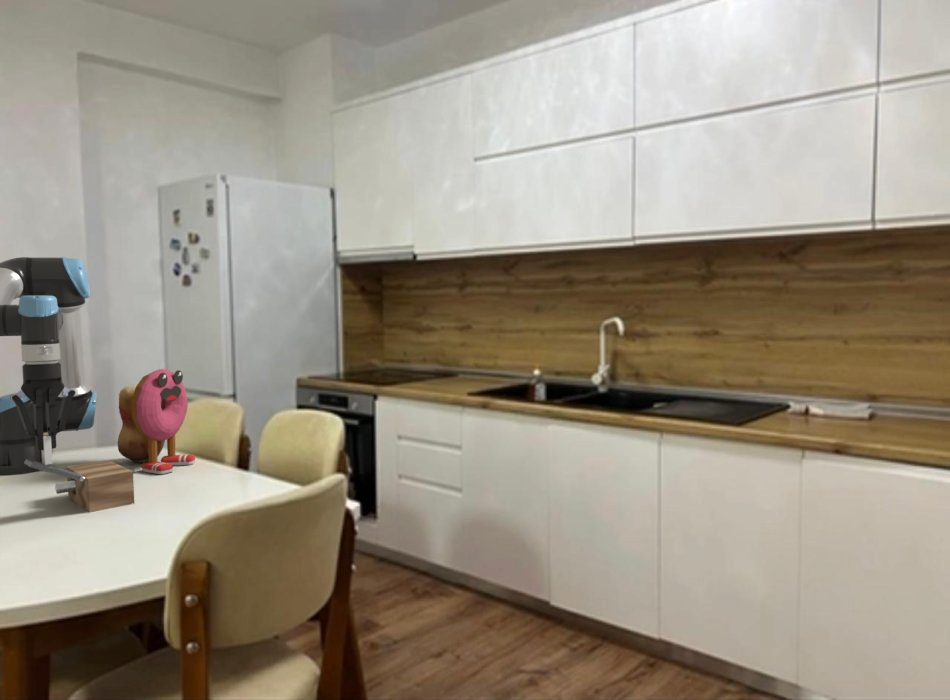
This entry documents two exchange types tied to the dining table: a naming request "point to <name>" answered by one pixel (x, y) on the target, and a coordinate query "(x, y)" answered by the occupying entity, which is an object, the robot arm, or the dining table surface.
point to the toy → (161, 417)
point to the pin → (65, 487)
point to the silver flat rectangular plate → (54, 470)
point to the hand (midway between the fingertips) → (47, 463)
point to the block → (102, 486)
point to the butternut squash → (132, 431)
